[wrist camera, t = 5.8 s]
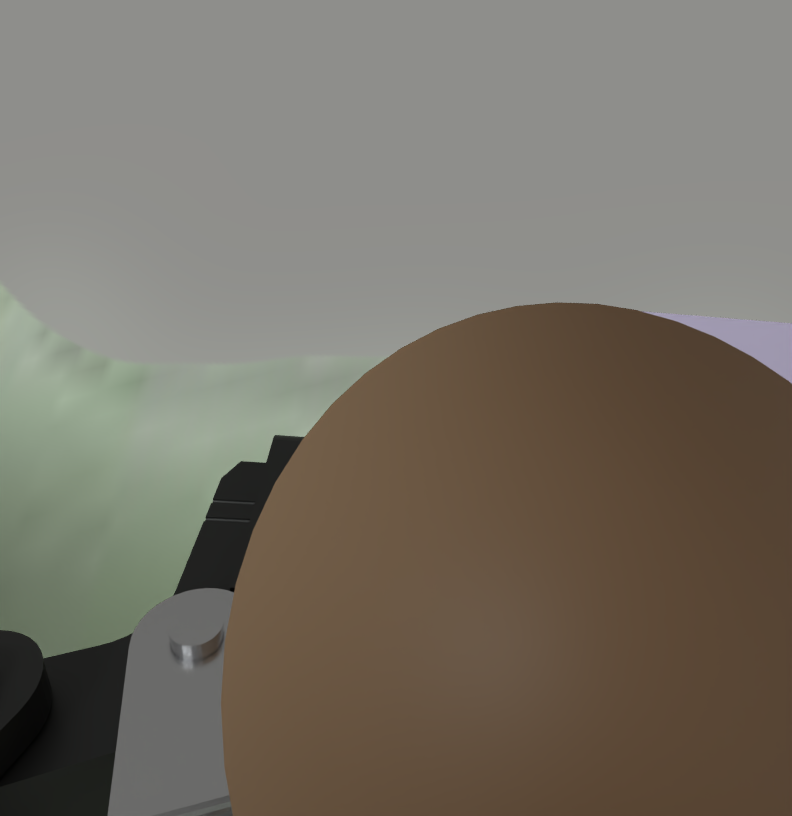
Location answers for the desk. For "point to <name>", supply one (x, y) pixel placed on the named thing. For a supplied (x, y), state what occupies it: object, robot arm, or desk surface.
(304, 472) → the dowel
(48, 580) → the desk surface
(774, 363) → the socket
